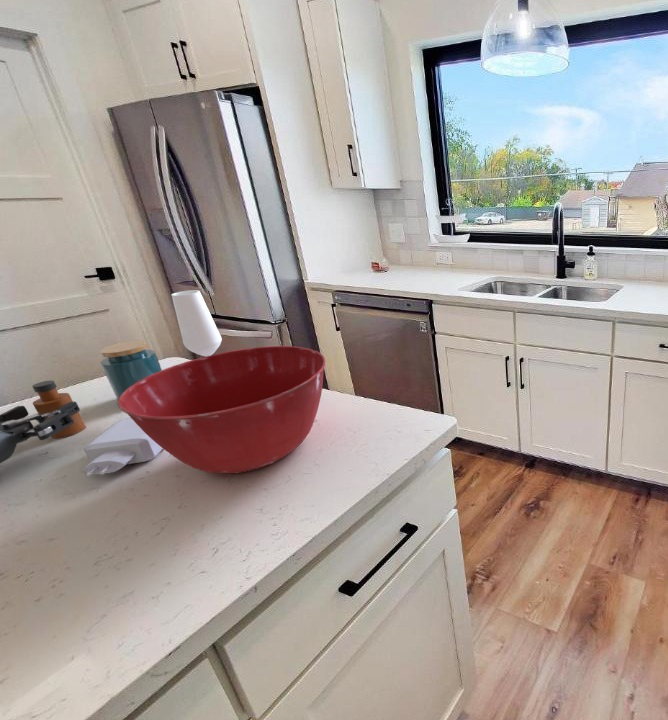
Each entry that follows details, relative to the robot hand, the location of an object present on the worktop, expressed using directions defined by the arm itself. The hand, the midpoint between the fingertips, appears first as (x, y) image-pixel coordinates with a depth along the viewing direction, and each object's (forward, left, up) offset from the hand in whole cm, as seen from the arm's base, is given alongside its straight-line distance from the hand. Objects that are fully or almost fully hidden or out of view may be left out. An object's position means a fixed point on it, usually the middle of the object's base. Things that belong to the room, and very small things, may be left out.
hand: (50, 407), depth 80 cm
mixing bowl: (+40, -13, -6) cm, 43 cm away
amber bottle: (0, +1, -6) cm, 6 cm away
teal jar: (+5, +15, -6) cm, 17 cm away
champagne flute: (+22, +13, -6) cm, 26 cm away
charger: (+19, -12, -6) cm, 23 cm away
